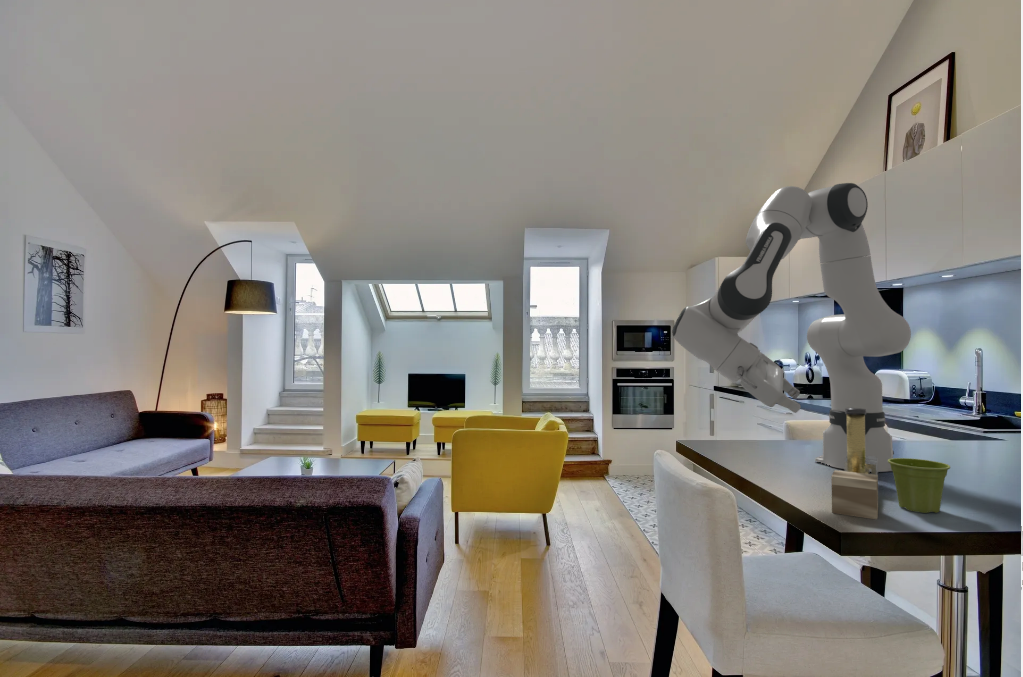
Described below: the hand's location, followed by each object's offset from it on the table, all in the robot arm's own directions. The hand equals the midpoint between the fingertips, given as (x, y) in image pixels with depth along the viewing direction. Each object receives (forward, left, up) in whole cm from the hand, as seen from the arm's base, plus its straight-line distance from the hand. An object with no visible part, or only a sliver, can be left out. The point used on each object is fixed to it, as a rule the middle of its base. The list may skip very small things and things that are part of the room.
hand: (798, 402), depth 113 cm
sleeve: (-14, +10, -19) cm, 26 cm away
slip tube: (-2, +10, -18) cm, 20 cm away
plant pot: (-1, +20, -19) cm, 28 cm away
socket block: (+8, +10, -19) cm, 23 cm away
